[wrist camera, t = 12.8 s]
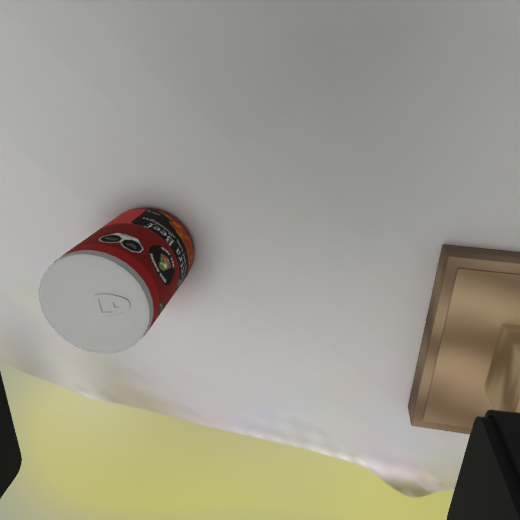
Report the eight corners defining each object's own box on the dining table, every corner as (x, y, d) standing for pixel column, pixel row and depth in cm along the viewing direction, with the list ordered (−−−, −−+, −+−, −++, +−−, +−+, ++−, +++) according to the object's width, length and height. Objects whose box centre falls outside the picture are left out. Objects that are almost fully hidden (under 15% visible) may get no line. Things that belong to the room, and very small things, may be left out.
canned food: (210, 271, 43) (169, 338, 33) (134, 297, 45) (73, 367, 35) (171, 191, 40) (114, 236, 30) (93, 223, 43) (16, 274, 33)
